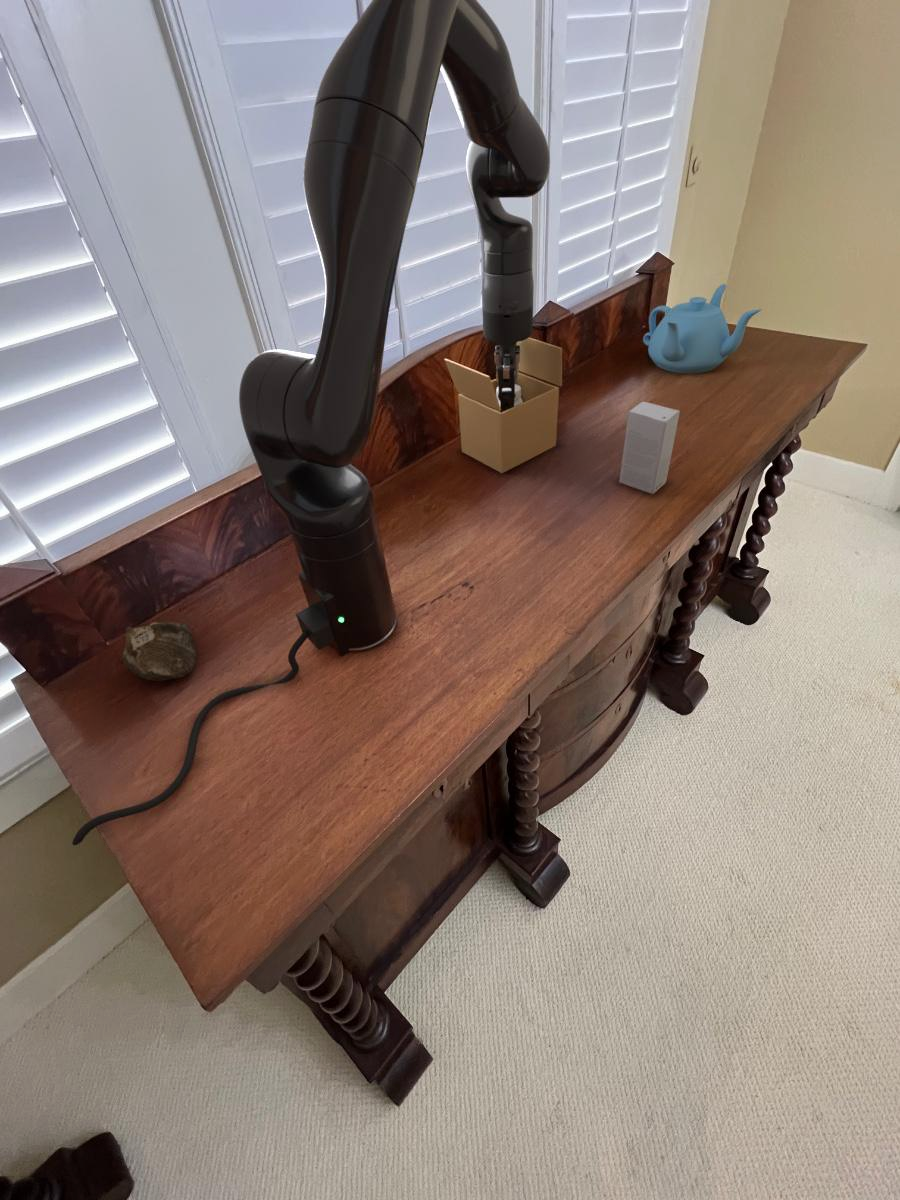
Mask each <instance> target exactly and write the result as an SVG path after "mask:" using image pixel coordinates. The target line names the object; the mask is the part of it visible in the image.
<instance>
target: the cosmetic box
mask: <svg viewBox="0 0 900 1200" xmlns="http://www.w3.org/2000/svg"><path fill="white" fill-rule="evenodd" d="M680 413H681V412H680V409H675V408H670V407H666V406H662V405H659V404H655V403H651V402H648V401H641V402H640V403H639V404H637V405H635V406H634V407H632V408H631V409H630V410H629V411H628V414H627V421H626V429H625V436H624V444H623V452H622V459H621V465H620V473H619V481H618V482H619V484H622V485H626V486H628V487H631V488H633V489H636V490H639V491H642V492H645V493H648V494H650V495H654V494H655V493H657V491H658V490H659V489H661V488H662V487H663V486H664V485H666V483H667V479H668V473H669V470H670V469H669V468H670V464H671V459H672V453H673V449H674V443H675V437H676V434H677V429H678V423H679V419H680V418H679V417H680Z"/></svg>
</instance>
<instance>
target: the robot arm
mask: <svg viewBox="0 0 900 1200" xmlns="http://www.w3.org/2000/svg"><path fill="white" fill-rule="evenodd" d="M440 73H441V74H442V76H443V79H444V81H445V83H446V86H447V89H448V92H449V94H450V97H451V100H452V103H453V105H454V107H455V110H456V113H457V115H458V117H459V121H460V123H461V126H462V128H463V131H464V132H465V133H464V134H465V135H466V136H467V138H468V139H469V140H470V143H469V146H468V148H467V153H466V156H465V172H466V178H467V183H468V188H469V191H470V195H471V198H472V202H473V205H474V208H475V209H474V210H475V212H476V217H477V222H478V225H479V226H478V227H479V229H480V235H481V248H482V249H481V252H482V280H481V310H482V314H481V315H482V336H483V337H484V339H486V340H487V341H488V342H490V343H496V344H498V345H495V350H494V364H495V377H496V378H495V379H496V382H497V383H498V387H499V394H498V398H499V400H500V408H501V410H500V412H501V413H502V412H504V411H506V410H508V409H510V408H513V407H514V399H515V397H516V393H515V383H517V382H518V372H520V371H519V362H520V354H521V345H517V342H519V341H523V340H526V339H527V338H529V337H530V338H531V336H532V334H533V331H534V294H535V293H534V289H535V287H534V274H533V259H534V256H533V254H534V228H533V225H532V222H530V220H528V219H526V218H524V217H521V216H517V215H514V214H511V213H509V212H508V211H507V210H505V208H504V206H503V203H502V201H501V199H504V198H505V199H506V198H507V199H509V198H510V199H511V198H512V199H513V198H515V199H517V198H518V199H521V198H523V199H524V198H531V197H534V196H535V195H537V194H538V193H539V192H540V191H542V189H543V188H544V186H545V184H546V183H547V180H548V177H549V173H550V168H551V167H550V166H551V157H550V156H551V155H550V148H549V145H548V141H547V138H546V135H545V133H544V130H543V129H542V127H541V126H540V123H539V122H538V120H537V119H536V118H535V115H534V114H533V113H532V111H531V110H530V108H529V107H528V104H527V103H526V102H525V100H524V99H523V97H522V96H521V94H520V91H519V87H518V83H517V82H518V81H517V79H516V74H515V70H514V67H513V62H512V58H511V54H510V51H509V49H508V46H507V43H506V41H505V39H504V37H503V34H502V33H501V31H500V29H499V27H498V26H497V24H496V23H495V21H494V20H493V18H492V17H491V16H490V15H489V13H488V12H487V11H486V10H485V8H484V6H482V5H481V4H480V3H479V1H478V0H371V1H370V3H369V5H367V7H366V8H365V10H364V11H363V13H362V14H361V16H360V17H359V19H358V20H357V22H356V23H355V24H354V25H353V27H352V28H351V30H350V31H349V32H348V33H347V35H346V37H345V39H344V40H343V41H342V43H341V44H340V46H339V48H338V49H337V50H336V52H335V54H334V56H333V57H332V59H331V61H330V63H329V65H328V66H327V68H326V70H325V72H324V74H323V76H322V78H321V81H320V83H319V87H318V90H317V93H316V97H315V102H314V107H313V112H312V113H313V114H312V118H311V124H310V130H309V135H308V140H307V145H306V151H305V157H304V163H303V173H302V175H303V176H302V181H303V192H304V193H303V194H304V198H305V204H306V208H307V212H308V216H309V221H310V224H311V228H312V232H313V235H314V238H315V242H316V246H317V250H318V252H319V256H320V260H321V265H322V269H323V275H324V283H325V298H324V308H323V309H324V310H323V317H322V324H321V330H320V335H319V340H318V345H317V349H316V353H315V354H312V353H311V354H310V353H305V352H299V351H293V350H287V349H269V350H265V351H263V352H261V353H259V354H257V355H256V356H255V357H253V358H252V359H251V360H250V362H249V363H248V364H247V366H246V367H245V369H244V371H243V373H242V377H241V379H240V385H239V393H238V403H239V405H238V406H239V413H240V419H241V424H242V427H243V430H244V433H245V437H246V439H247V442H248V444H249V447H250V449H251V452H252V454H253V456H254V457H253V458H254V459H255V462H256V465H257V467H258V470H259V472H260V475H261V477H262V480H263V482H264V484H265V487H266V490H267V492H268V494H269V496H270V498H271V499H272V501H273V502H274V503H275V505H276V506H277V507H278V508H279V509H280V510H281V511H282V513H283V515H284V516H285V520H286V523H287V525H288V529H289V532H290V535H291V538H292V541H293V544H294V547H295V551H296V554H297V557H298V560H299V563H300V566H301V569H302V571H300V572H298V578H299V582H300V584H301V588H302V591H303V593H304V597H305V599H306V602H307V605H308V607H306V608H303V609H302V610H300V611H298V612H296V613H295V616H296V618H297V621H298V624H299V627H300V629H301V630H300V631H301V632H302V633H301V634H300V636H299V637H297V639H296V640H295V642H294V643H293V644H292V646H291V648H290V650H289V652H288V657H287V660H288V664H289V666H290V667H291V670H290V671H289V672H288V674H286V675H285V676H284V677H282V678H280V679H278V680H277V681H274V682H272V683H271V682H270V683H265V684H257V685H249V686H243V687H237V688H234V689H230V690H227V691H224V692H222V693H220V694H218V695H217V696H215V697H214V698H213V699H211V700H210V701H209V702H208V703H206V705H205V706H204V707H202V709H201V710H200V712H199V713H198V715H197V716H196V718H195V720H194V722H193V725H192V727H191V730H190V733H189V734H190V735H189V738H188V744H187V749H186V753H185V758H184V761H183V764H182V767H181V768H180V771H179V773H178V775H177V776H176V778H175V779H174V781H173V782H172V783H170V785H169V786H168V787H167V788H166V789H165V790H163V792H161V793H160V794H159V795H157V796H155V797H154V798H152V799H149V800H147V801H145V802H141V803H139V804H136V805H132V806H129V807H125V808H120V809H117V810H113V811H110V812H106V813H103V814H100V815H98V816H96V817H94V818H92V819H90V820H89V821H87V822H86V823H84V824H83V825H82V826H81V827H80V829H78V830H77V832H76V833H75V836H74V838H73V839H72V842H71V843H72V845H73V846H77V845H80V844H81V843H82V842H83V841H84V839H85V838H86V836H87V835H88V834H89V833H90V832H91V831H92V830H94V829H95V828H97V827H98V826H101V825H102V824H105V823H108V822H111V821H114V820H117V819H122V818H125V817H131V816H133V815H137V814H140V813H143V812H145V811H148V810H151V809H153V808H155V807H157V806H159V805H161V804H162V803H165V801H167V800H168V799H169V798H170V797H171V796H172V795H174V793H176V791H177V790H178V789H179V788H180V787H181V786H182V784H183V783H184V781H185V780H186V778H187V777H188V774H189V773H190V770H191V768H192V765H193V763H194V758H195V754H196V750H197V744H198V738H199V734H200V730H201V727H202V725H203V722H204V720H205V719H206V717H207V716H208V715H209V713H210V712H211V711H213V709H214V708H215V707H216V706H218V705H219V704H220V703H221V702H223V701H225V700H228V699H230V698H233V697H236V696H241V695H244V694H248V693H251V692H255V691H258V690H260V689H263V688H265V687H268V686H273V685H280V684H285V683H287V682H290V681H292V680H293V679H294V678H295V677H296V676H297V675H298V674H299V670H300V665H299V663H298V661H297V660H296V655H297V653H298V651H299V649H300V648H301V647H302V645H303V644H305V642H306V641H307V640H309V642H311V643H312V645H313V646H314V647H315V648H316V650H318V651H321V650H322V649H324V648H325V647H327V646H330V647H331V648H332V650H334V651H335V652H336V653H337V654H338V656H339V657H344V656H346V655H348V654H352V653H355V654H357V653H363V652H367V651H371V650H373V649H375V648H378V647H379V646H381V645H383V644H384V643H386V642H387V641H388V640H389V639H390V638H391V637H392V636H393V634H394V633H395V631H396V629H397V626H398V615H397V611H396V606H395V602H394V598H393V593H392V588H391V582H390V579H389V578H390V577H389V573H388V568H387V562H386V557H385V552H384V548H383V541H382V537H381V531H380V526H379V521H378V516H377V511H376V506H375V501H374V495H373V491H372V487H371V483H370V481H369V480H368V478H367V477H366V476H365V474H363V473H362V472H361V471H360V470H359V469H357V468H356V467H355V466H353V465H352V463H353V462H355V461H356V460H357V459H358V457H359V456H360V455H361V453H362V452H363V450H364V448H365V446H366V444H367V442H368V440H369V438H370V434H371V431H372V428H373V424H374V421H375V416H376V410H377V405H378V398H379V392H380V391H379V390H380V383H381V375H382V368H383V359H384V352H385V342H386V335H387V328H388V320H389V313H390V308H391V302H392V296H393V291H394V286H395V281H396V276H397V275H396V274H397V270H398V266H399V260H400V255H401V251H402V246H403V242H404V236H405V231H406V227H407V224H408V219H409V216H410V211H411V208H412V204H413V201H414V198H415V197H414V196H415V193H416V187H417V183H418V179H419V178H418V177H419V173H420V169H421V166H422V165H421V164H422V160H423V155H424V151H425V145H426V139H427V134H428V129H429V123H430V119H431V113H432V108H433V104H434V99H435V94H436V90H437V85H438V81H439V77H440ZM503 388H511V391H503Z"/></svg>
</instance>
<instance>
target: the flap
mask: <svg viewBox="0 0 900 1200" xmlns="http://www.w3.org/2000/svg"><path fill="white" fill-rule="evenodd" d="M444 362H445V365H446V367H447V371H448V372H449V375H450V377H451V380H452V383H453V385H454V387H455V391H456V392H457V393H459V394H464V395H466V396H468V397H470V398H472V399H475V400H477V401H479V402H481V403H483V404H486V405H488V406H490V407H492V408H494V409H497V410H499V411H500V410H501V408H500V405H499V402H498V399H497V396H496V393H495V391H494V388H493V385H492V382H491V381H492V379H491V376H490V375H487V374H486V373H483V372H480V371H478V370H476V369H472V368H470V367H468V366H465V365H463V364H460V363H458V362H456V361H453V360H451V359H448V358H444Z"/></svg>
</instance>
